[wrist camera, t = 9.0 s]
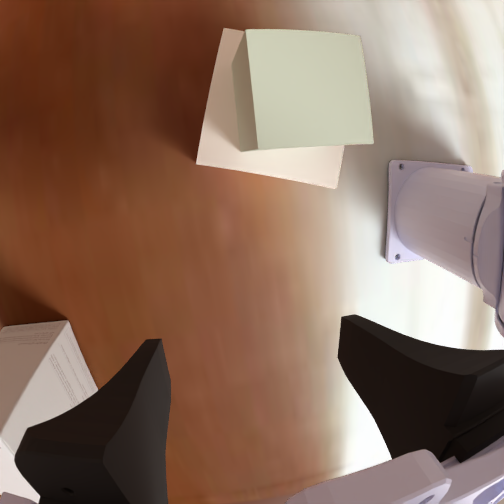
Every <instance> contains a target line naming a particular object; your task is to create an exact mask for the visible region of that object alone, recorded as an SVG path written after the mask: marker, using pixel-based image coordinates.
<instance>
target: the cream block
mask: <svg viewBox="0 0 504 504" xmlns="http://www.w3.org/2000/svg"><path fill="white" fill-rule="evenodd" d="M244 32H245V31H240V30H234V29H228V28H224V29H223V33H222V37H221V41H220V45H219V50H218V54H217V58H216V63H215V67H214V72H213V77H212V81H211V86H210V91H209V96H208V101H207V106H206V111H205V116H204V121H203V127H202V132H201V138H200V143H199V149H198V155H197V161H196V164H198V165H206V166H212V167H219V168H225V169H232V170H238V171H244V172H250V173H256V174H261V175H267V176H273V177H278V178H283V179H289V180H294V181H299V182H304V183H309V184H314V185H318V186H323V187H328V188H332V189H337V184H338V179H339V174H340V169H341V163H342V158H343V152H344V147H345V145H337V146H317V147H298V148H282V149H269V150H257V151H247V152H240V142H239V133H238V123H237V113H236V103H235V93H234V83H233V73H232V61H233V59H234V56H235V54H236V51H237V49H238V46H239V44H240V42H241V39H242V37H243V34H244Z"/></svg>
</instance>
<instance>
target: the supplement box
mask: <svg viewBox="0 0 504 504" xmlns="http://www.w3.org/2000/svg"><path fill="white" fill-rule="evenodd" d="M97 391H98V389H97V387H96V385H95V383H94V380H93V378H92V376H91V374H90V372H89V369H88V367H87V365H86V363H85V360H84V358H83V356H82V353H81V351H80V349H79V346H78V344H77V341H76V339H75V336H74V334H73V331H72V329H71V326H70V323H69V321H68V320H64V321H54V322H44V323H34V324H24V325H13V326H5V327H3V328H2V329H1V331H0V495H2V492H7V493H11V494H14V495H17V496H21V497H24V498H27V499H30V500H32V501H34V502H36V503H37V504H38V503H39V499H40V495H39V494H38V493H37V492H36V491H35V490H34V489H33V488H32V486H31V485H30V484H29V483H28V482H27V481H26V480H25V478H24V477H23V476H22V475H21V473H20V472H19V470H18V469H17V467H16V465H15V462H14V457H15V454H16V451H17V449H18V447H19V445H20V442H21V440H22V438H23V436H24V433H25V431H26V429H27V428H28V427H31V426H34V425H37V424H39V423H42V422H45V421H47V420H50V419H52V418H54V417H56V416H59V415H61V414H63V413H65V412H66V411H68V410H70V409H72V408H74V407H75V406H77V405H78V404H80V403H81V402H83V401H84V400H86V399H87V398H89V397H90V396H92V395H93V394H94V393H96V392H97Z"/></svg>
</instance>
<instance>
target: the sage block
mask: <svg viewBox="0 0 504 504" xmlns="http://www.w3.org/2000/svg"><path fill="white" fill-rule="evenodd" d="M232 73H233V83H234V93H235V103H236V113H237V123H238V133H239V142H240V152H247V151H257V150H269V149H282V148H298V147H317V146H337V145H359V144H374V140H373V127H372V117H371V107H370V98H369V90H368V82H367V75H366V68H365V61H364V55H363V49H362V43H361V38H360V36H358V35H350V34H342V33H333V32H322V31H308V30H287V29H246V30H245V32H244V34H243V37H242V39H241V42H240V44H239V46H238V49H237V51H236V54H235V56H234V59H233V61H232Z"/></svg>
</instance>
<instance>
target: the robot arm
mask: <svg viewBox="0 0 504 504" xmlns="http://www.w3.org/2000/svg"><path fill="white" fill-rule="evenodd" d="M400 164H401V166H402V168H401V169H399V165H400ZM461 169H462V171H461ZM397 254H398V256H397V258H395V256H396V255H397ZM385 259H386V261H387V262H389V263H400V262H407V261H414V260H421V259H426V260H428V261H430V262H432V263H434V264H436V265H438V266H440V267H442V268H444V269H446V270H447V271H449V272H451V273H453V274H455V275H457V276H459V277H460V278H462V279H464V280H466V281H468V282H470V283H471V284H473V285H475V286H477V287H479V288H480V289H482V290H483V295H484V299H483V301H484V302H485V303H486V304H488V305H490V306H491V307H493V308H495V309H496V310H495V324H496V327H497V329H498V331H499V332H500V334H501V335H502V336H503V337H504V170H503V171H502V173H501V177H496V176H490V175H484V174H478V173H473V169H472V167H471V166H467V165H458V164H447V163H436V162H423V161H408V160H392V161H390V163H389V194H388V223H387V240H386V254H385ZM338 359H339V362H340V364H341V366H342V369H343V371H344V373H345V375H346V377H347V378H348V380H349V381H350V383H351V384H352V386H353V387H354V389H355V390H356V392H357V393H358V395H359V396H360V398H361V399H362V401H363V402H364V404H365V405H366V407H367V408H368V410H369V411H370V413H371V415H372V416H373V418H374V420H375V422H376V424H377V426H378V428H379V430H380V432H381V434H382V436H383V439H384V441H385V443H386V445H387V448H388V450H389V452H390V455H391V458H392V460H389V461H387V462H384V463H381V464H379V465H376V466H373V467H370V468H367V469H364V470H361V471H358V472H355V473H352V474H348V475H345V476H342V477H338V478H335V479H331V480H328V481H324V482H321V483H319V484H316V485H313V486H310V487H308V488H305V489H303V490H301V491H300V492H298V493H297V494H295V495H293V496H292V497H290V498H289V499H288V500H287V501H286V503H285V504H497V503H498V502H499V501H500V500H502V499H503V498H504V350H466V349H457V348H451V347H445V346H440V345H435V344H431V343H428V342H424V341H421V340H417V339H414V338H412V337H409V336H406V335H403V334H401V333H398V332H396V331H393V330H391V329H389V328H386V327H384V326H382V325H380V324H377V323H375V322H373V321H370V320H368V319H366V318H363V317H361V316H358V315H355V314H354V315H349V316H343V317H341V328H340V339H339V348H338ZM170 403H171V379H170V375H169V371H168V367H167V362H166V358H165V353H164V349H163V344H162V339H148V340H145V342H144V343H143V344H142V345H141V346H140V347H139V349H138V350H137V351H136V352H135V353H134V355H133V356H132V357H131V358H130V359H129V361H128V362H127V363H126V364H125V365H124V366H123V367H122V368H121V369H120V371H119V372H118V373H117V374H116V375H115V376H114V377H113V378H112V379H111V380H110V381H109V382H108V383H106V384H105V385H104V386H103V387H102V388H101V389H99V390H98V391H97V392H96V393H94V394H93V395H92V396H90V397H89V398H87V399H86V400H84V401H83V402H81V403H80V404H78V405H77V406H75V407H74V408H72V409H70V410H68V411H66V412H65V413H63V414H61V415H59V416H56V417H54V418H52V419H50V420H47V421H45V422H42V423H39V424H37V425H34V426H31V427H28V428H27V429H26V431H25V433H24V436H23V438H22V440H21V442H20V445H19V447H18V449H17V451H16V454H15V457H14V462H15V465H16V467H17V469H18V470H19V472H20V473H21V475H22V476H23V477H24V478H25V480H26V481H27V482H28V483H29V484H30V485H31V486H32V488H33V489H34V490H35V491H36V492H37V493H38V494H39V495H40V499H39V503H38V504H168V497H167V483H166V461H165V450H166V438H167V429H168V421H169V412H170ZM0 504H37V503H36V502H34V501H32V500H30V499H27V498H24V497H21V496H17V495H14V494H11V493H7V492H2V495H1V498H0Z"/></svg>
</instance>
